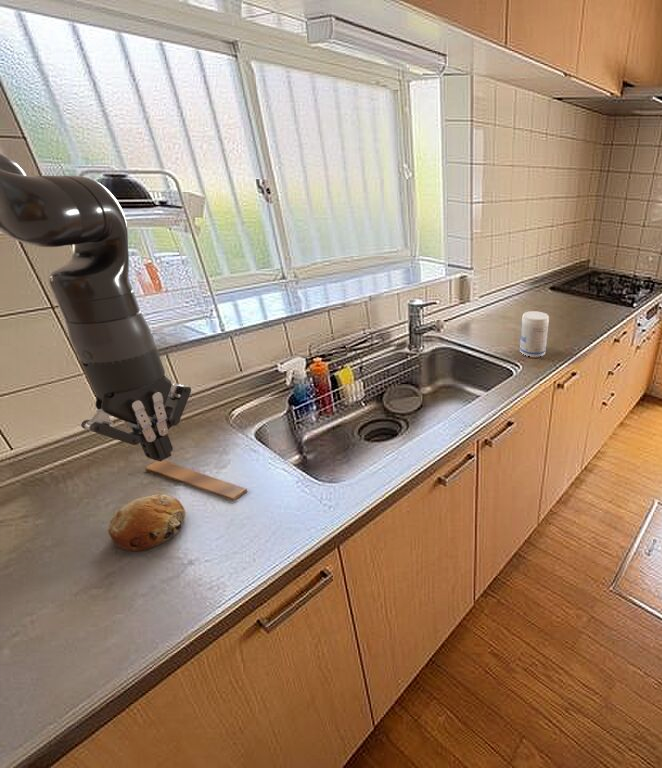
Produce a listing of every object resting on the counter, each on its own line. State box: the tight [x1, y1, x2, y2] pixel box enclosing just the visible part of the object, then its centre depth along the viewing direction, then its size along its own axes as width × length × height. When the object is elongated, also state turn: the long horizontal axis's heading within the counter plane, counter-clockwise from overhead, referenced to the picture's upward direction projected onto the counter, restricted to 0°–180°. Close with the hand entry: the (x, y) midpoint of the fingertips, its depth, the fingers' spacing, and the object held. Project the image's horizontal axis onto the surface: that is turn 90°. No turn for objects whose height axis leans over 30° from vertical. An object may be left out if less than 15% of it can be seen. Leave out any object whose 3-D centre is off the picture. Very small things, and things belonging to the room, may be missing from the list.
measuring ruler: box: [144, 460, 248, 502], centre depth 85 cm, size 24×3×1 cm, turn 71°
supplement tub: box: [519, 310, 550, 359], centre depth 150 cm, size 10×10×15 cm
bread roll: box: [107, 493, 187, 552], centre depth 72 cm, size 10×10×8 cm
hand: (161, 457), depth 62 cm, fingers closed
